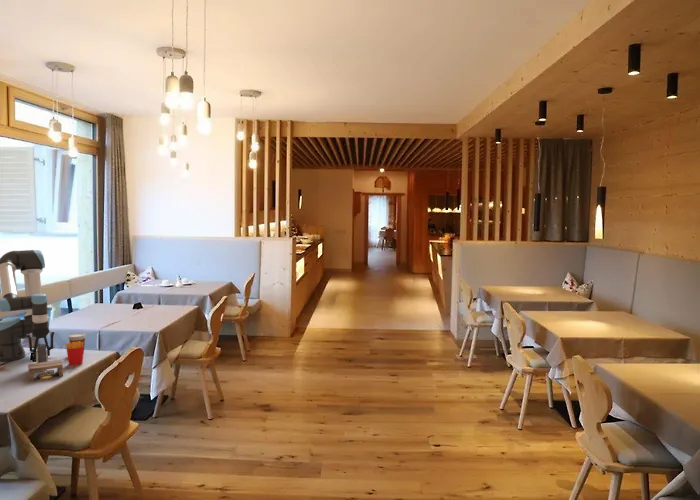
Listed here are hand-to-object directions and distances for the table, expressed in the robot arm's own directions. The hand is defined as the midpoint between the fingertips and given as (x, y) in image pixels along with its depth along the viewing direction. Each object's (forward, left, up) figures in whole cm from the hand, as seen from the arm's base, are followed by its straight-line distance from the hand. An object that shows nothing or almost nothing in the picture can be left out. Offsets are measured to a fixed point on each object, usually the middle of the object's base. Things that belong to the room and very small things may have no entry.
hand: (42, 362), depth 296 cm
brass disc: (+23, 0, -2) cm, 23 cm away
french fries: (+5, +16, -3) cm, 17 cm away
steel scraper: (+9, 0, -2) cm, 9 cm away
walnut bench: (+20, 0, -2) cm, 20 cm away
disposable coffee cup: (-15, +20, -3) cm, 25 cm away
